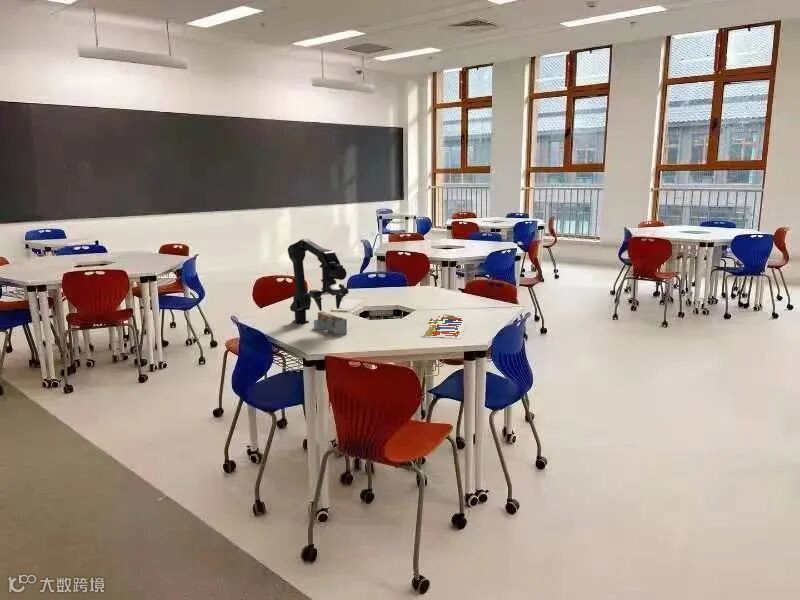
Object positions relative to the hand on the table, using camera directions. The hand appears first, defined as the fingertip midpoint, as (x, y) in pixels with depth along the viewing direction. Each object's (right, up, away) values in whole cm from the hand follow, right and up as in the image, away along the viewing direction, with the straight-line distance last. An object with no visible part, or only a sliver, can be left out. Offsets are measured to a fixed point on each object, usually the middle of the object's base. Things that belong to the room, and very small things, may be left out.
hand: (329, 309), depth 285 cm
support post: (-4, -9, +7) cm, 12 cm away
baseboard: (+4, 0, +58) cm, 58 cm away
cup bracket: (+4, -11, -4) cm, 12 cm away
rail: (0, -6, +1) cm, 6 cm away
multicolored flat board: (+56, -9, +10) cm, 58 cm away
